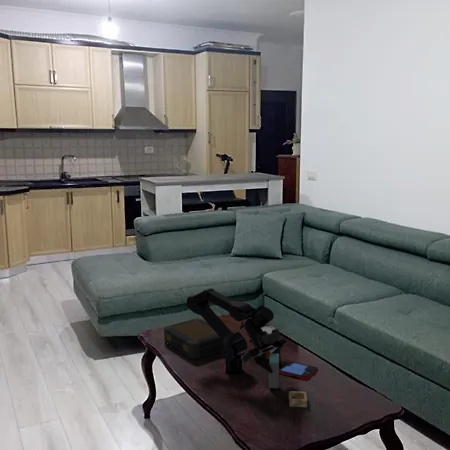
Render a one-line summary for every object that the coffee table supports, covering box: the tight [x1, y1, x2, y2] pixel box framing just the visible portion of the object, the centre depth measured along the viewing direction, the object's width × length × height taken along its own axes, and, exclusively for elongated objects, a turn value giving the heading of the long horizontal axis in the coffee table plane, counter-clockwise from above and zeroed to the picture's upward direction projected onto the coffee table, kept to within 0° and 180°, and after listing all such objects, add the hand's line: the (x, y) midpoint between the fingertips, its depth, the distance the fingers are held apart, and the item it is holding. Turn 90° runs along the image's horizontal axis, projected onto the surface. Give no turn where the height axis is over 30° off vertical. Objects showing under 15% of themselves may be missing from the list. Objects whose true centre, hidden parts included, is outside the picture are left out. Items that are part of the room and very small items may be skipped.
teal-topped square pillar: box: [268, 354, 280, 389], centre depth 184 cm, size 3×3×12 cm
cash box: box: [163, 317, 225, 360], centre depth 225 cm, size 25×20×8 cm
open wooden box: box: [288, 390, 308, 408], centre depth 175 cm, size 6×6×3 cm
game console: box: [279, 359, 319, 381], centre depth 199 cm, size 14×13×2 cm
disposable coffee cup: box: [262, 325, 276, 360], centre depth 212 cm, size 10×10×12 cm
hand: (276, 370), depth 183 cm, fingers closed on teal-topped square pillar, 5 cm apart
